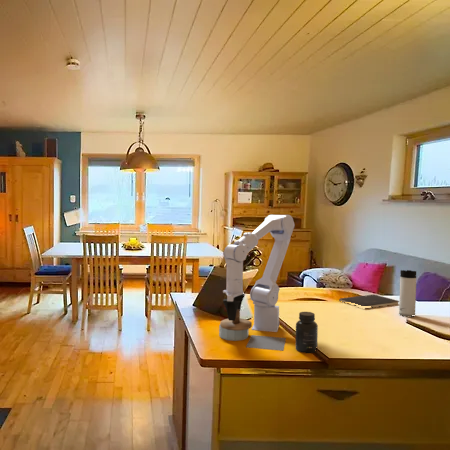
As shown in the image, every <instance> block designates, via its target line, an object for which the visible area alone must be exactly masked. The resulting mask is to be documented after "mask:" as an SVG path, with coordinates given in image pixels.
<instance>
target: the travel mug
mask: <svg viewBox="0 0 450 450" xmlns="http://www.w3.org/2000/svg"><path fill="white" fill-rule="evenodd" d="M399 274H400V276H399V278H400V279H399V300H398V301H399V302H398V305H399V306H398V310H399V311H398V314H400V315H399V316H401V315H403V316H402V317H404V316H412V315H415V316H416V303H417V302H416V300H417V298H416V297H417V270H411V269H406V270H404V269H403V270H402V269H401V270H400V273H399Z"/></svg>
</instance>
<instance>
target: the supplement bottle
mask: <svg viewBox="0 0 450 450" xmlns="http://www.w3.org/2000/svg"><path fill="white" fill-rule="evenodd" d="M315 319H316V316H315V313H314V312H311V311H300V312H299V313H298V320H297V321H296V323H295V350H296V351H297V352H299V353H303V354H314V353H316V352H315V350H316V347H317V348H318V338H319V337H318V333H319V331H318V330H319V328H318V327H319V326H318V324H317V322H316V321H315Z"/></svg>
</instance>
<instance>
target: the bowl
mask: <svg viewBox="0 0 450 450" xmlns="http://www.w3.org/2000/svg"><path fill="white" fill-rule="evenodd" d="M249 329H250V328H249ZM249 329H246V330H238V331H236V330H227V329H224V328H222V327H221V326H220V324H219V327H218V332H219V333H218V337H220V338H221V339H223V340H226V341H233V342H236V341H243V340H244V341H245V340H246V339H248V337H249Z"/></svg>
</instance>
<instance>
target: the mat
mask: <svg viewBox="0 0 450 450" xmlns="http://www.w3.org/2000/svg"><path fill="white" fill-rule="evenodd" d="M286 338H287V337H278V336H267V335H254V334H252V335H251V334H250V338H249V340H248V341H247V344H246V346H245V348H251V349H258V350H259V349H260V350H261V349H262V350H271V351H280V352H282V351H284V350H285V345H286V340H287V339H286Z"/></svg>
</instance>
